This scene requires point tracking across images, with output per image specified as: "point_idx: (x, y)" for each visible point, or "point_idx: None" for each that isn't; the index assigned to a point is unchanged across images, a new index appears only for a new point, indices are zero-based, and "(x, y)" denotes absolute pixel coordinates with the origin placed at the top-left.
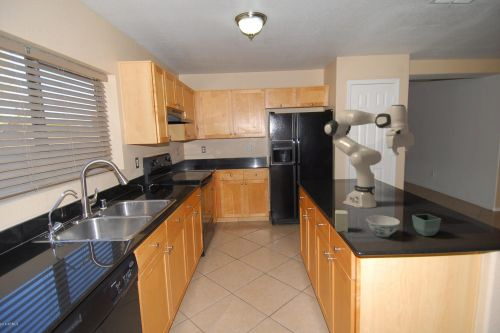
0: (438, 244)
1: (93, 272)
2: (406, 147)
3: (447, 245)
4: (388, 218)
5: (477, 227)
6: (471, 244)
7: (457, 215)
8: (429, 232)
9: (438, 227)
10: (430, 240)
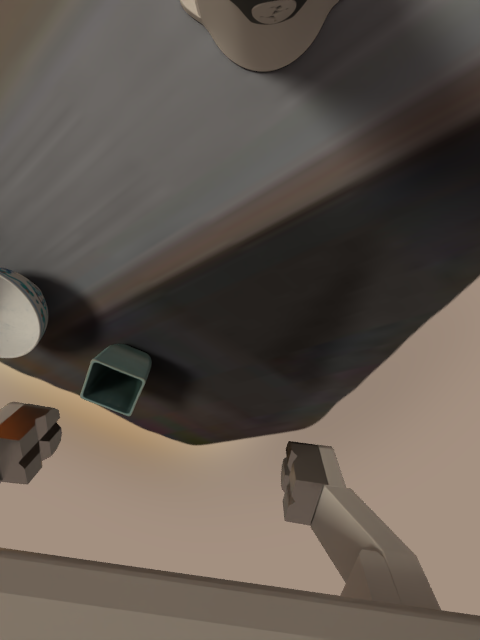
0: None
1: None
2: (353, 588)
3: None
4: (36, 307)
5: (284, 408)
6: (160, 425)
7: (369, 352)
8: (117, 377)
9: (133, 396)
10: None
